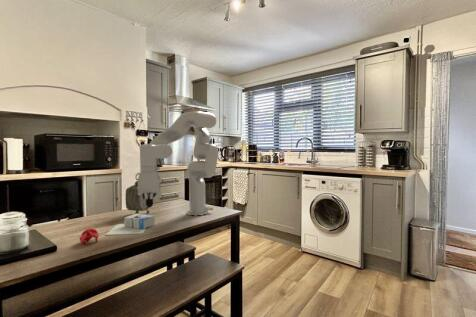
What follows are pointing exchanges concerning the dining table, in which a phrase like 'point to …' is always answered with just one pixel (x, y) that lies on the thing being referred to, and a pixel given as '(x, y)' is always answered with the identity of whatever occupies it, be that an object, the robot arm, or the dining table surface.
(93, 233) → the red hair claw clip
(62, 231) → the dining table surface
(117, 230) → the mat
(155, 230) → the dining table surface
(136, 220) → the ink box
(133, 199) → the tabletop clock
